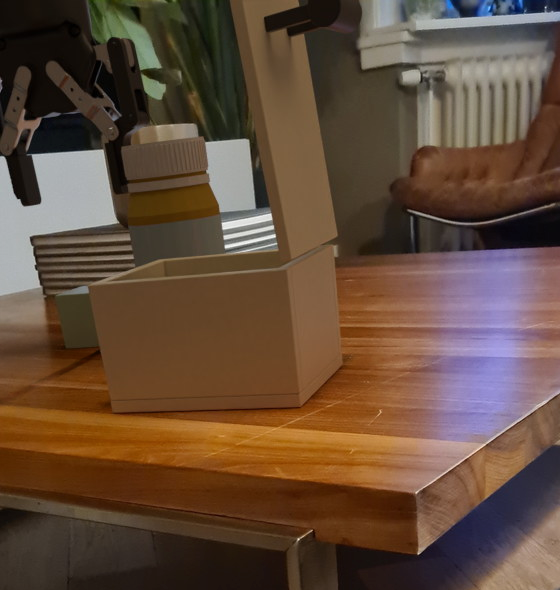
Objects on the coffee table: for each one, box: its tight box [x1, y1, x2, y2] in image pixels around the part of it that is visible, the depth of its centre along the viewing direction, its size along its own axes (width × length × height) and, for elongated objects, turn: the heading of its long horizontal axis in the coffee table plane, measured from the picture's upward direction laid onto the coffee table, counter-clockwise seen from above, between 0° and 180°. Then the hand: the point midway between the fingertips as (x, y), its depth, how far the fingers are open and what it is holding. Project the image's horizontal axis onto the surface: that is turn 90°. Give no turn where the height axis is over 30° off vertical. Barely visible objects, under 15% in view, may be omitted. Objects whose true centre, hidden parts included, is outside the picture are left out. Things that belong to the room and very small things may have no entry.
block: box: [54, 285, 101, 353], centre depth 79 cm, size 5×5×5 cm
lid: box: [229, 0, 363, 262], centre depth 51 cm, size 13×11×5 cm
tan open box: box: [87, 243, 344, 414], centre depth 59 cm, size 13×11×8 cm
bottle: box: [121, 136, 227, 268], centre depth 70 cm, size 7×7×15 cm
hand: (77, 199), depth 75 cm, fingers open, 8 cm apart
